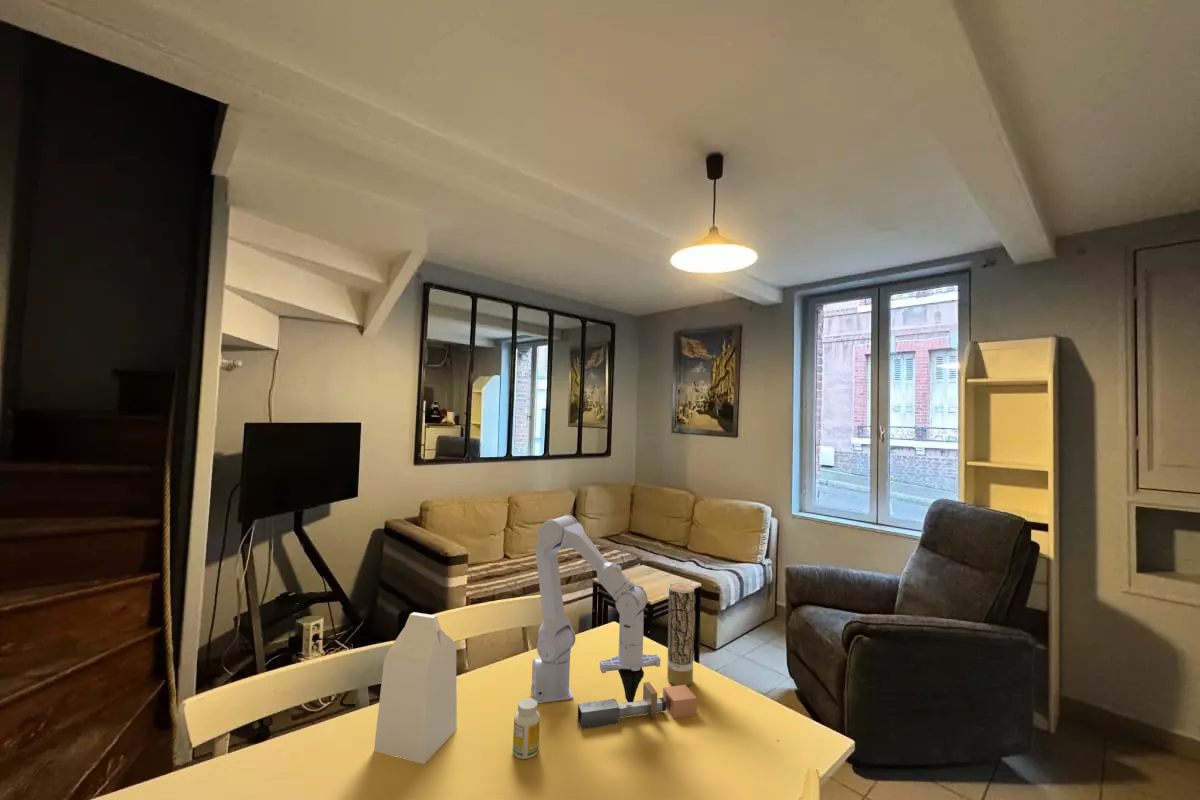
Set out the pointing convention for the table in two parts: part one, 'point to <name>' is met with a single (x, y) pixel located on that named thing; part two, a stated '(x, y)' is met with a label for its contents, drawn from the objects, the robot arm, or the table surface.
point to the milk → (417, 691)
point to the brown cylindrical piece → (680, 634)
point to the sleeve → (598, 713)
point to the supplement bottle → (526, 729)
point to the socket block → (680, 701)
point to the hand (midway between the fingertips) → (629, 699)
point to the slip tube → (644, 704)
